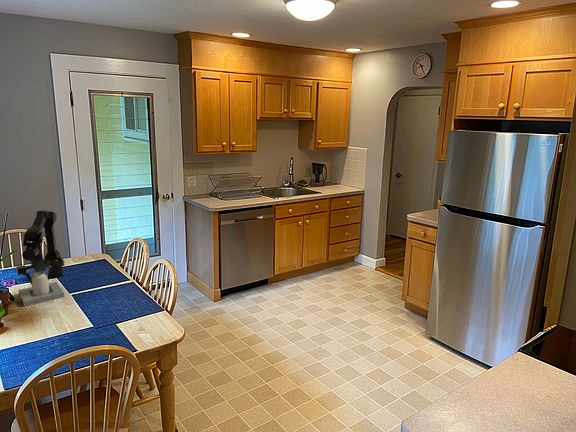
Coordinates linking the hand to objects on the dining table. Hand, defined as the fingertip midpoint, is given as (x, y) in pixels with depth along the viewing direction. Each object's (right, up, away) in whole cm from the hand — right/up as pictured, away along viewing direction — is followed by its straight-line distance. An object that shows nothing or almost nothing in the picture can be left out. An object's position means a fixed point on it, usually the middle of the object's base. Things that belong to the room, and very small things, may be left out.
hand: (39, 282), depth 216 cm
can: (0, -7, +2) cm, 7 cm away
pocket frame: (0, -7, +2) cm, 8 cm away
